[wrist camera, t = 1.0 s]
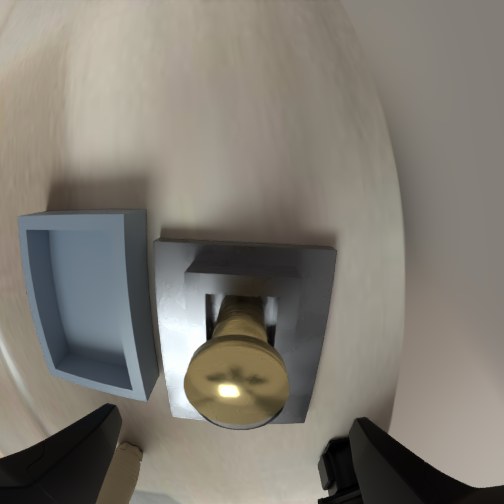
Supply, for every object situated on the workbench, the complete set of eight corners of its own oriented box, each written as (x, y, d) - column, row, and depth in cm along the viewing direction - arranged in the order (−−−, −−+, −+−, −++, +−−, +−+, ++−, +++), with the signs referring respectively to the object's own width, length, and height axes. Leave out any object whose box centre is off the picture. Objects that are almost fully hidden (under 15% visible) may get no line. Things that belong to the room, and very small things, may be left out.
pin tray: (146, 209, 18) (123, 214, 14) (159, 375, 21) (147, 402, 17) (45, 211, 18) (18, 216, 14) (69, 355, 21) (50, 374, 17)
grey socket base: (331, 246, 18) (349, 259, 15) (302, 414, 22) (308, 441, 18) (159, 238, 18) (139, 249, 15) (174, 407, 22) (166, 434, 18)
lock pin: (277, 282, 18) (296, 351, 10) (271, 340, 19) (282, 425, 11) (209, 278, 18) (179, 345, 10) (209, 336, 19) (188, 420, 11)
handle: (102, 434, 23) (59, 521, 9) (144, 439, 23) (108, 543, 9) (120, 456, 24) (87, 539, 10) (161, 461, 24) (135, 556, 10)
